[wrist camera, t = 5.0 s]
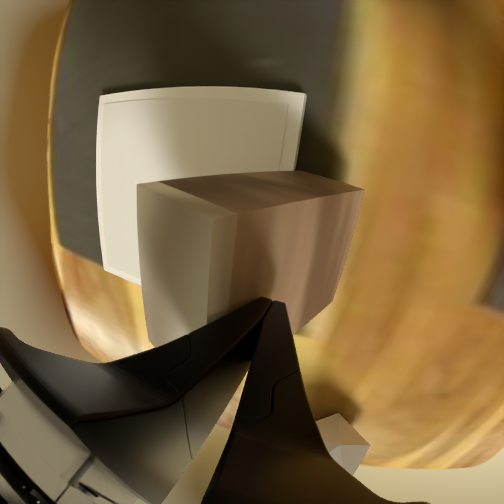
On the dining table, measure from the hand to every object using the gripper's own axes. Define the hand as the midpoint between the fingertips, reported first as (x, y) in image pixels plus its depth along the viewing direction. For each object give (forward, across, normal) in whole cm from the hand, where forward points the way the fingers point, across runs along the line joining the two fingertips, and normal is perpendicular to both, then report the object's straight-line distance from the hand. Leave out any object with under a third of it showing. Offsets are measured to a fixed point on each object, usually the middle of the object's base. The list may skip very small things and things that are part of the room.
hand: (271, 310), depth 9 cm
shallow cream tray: (+9, +9, 0) cm, 13 cm away
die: (+9, -8, +20) cm, 23 cm away
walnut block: (+8, -1, 0) cm, 8 cm away
